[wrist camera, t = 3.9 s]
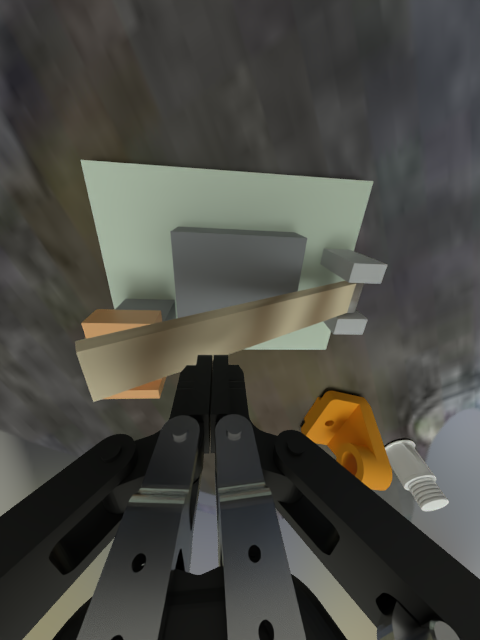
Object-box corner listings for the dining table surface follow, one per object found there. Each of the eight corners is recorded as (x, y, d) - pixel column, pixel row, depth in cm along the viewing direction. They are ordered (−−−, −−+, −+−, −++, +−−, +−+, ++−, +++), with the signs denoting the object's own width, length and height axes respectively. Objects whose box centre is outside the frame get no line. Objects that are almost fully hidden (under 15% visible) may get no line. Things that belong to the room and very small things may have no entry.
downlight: (386, 438, 46) (424, 496, 37) (419, 435, 46) (465, 492, 37) (375, 459, 50) (407, 516, 41) (405, 456, 50) (443, 513, 41)
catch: (160, 310, 20) (149, 331, 17) (168, 370, 24) (159, 398, 20) (96, 309, 20) (72, 330, 17) (113, 370, 23) (95, 399, 20)
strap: (352, 277, 22) (367, 282, 21) (343, 305, 24) (358, 311, 23) (75, 338, 11) (76, 356, 9) (91, 385, 12) (94, 406, 11)
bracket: (325, 385, 38) (365, 458, 27) (361, 393, 39) (413, 465, 29) (297, 427, 42) (322, 503, 32) (330, 433, 44) (365, 507, 33)
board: (362, 182, 24) (426, 175, 16) (320, 341, 33) (348, 383, 26) (92, 163, 21) (22, 143, 14) (129, 340, 31) (99, 385, 23)
